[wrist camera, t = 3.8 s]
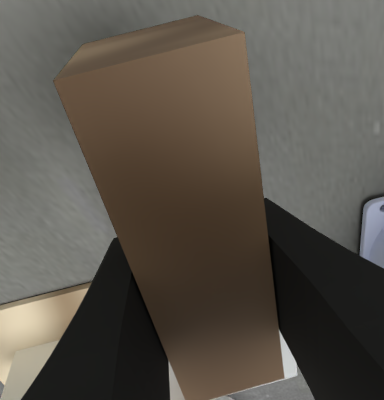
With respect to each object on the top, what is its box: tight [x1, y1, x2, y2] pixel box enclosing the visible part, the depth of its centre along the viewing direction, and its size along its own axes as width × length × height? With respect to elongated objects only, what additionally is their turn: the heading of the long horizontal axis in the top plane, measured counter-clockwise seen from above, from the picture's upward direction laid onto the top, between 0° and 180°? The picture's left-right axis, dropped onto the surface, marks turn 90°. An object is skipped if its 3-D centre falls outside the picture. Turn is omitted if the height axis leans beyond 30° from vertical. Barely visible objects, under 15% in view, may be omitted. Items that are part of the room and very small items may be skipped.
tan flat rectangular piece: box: [0, 282, 92, 385], centre depth 23 cm, size 10×12×1 cm
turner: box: [53, 15, 297, 400], centre depth 9 cm, size 5×13×4 cm, turn 12°
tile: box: [0, 340, 59, 400], centre depth 19 cm, size 6×1×6 cm, turn 101°
